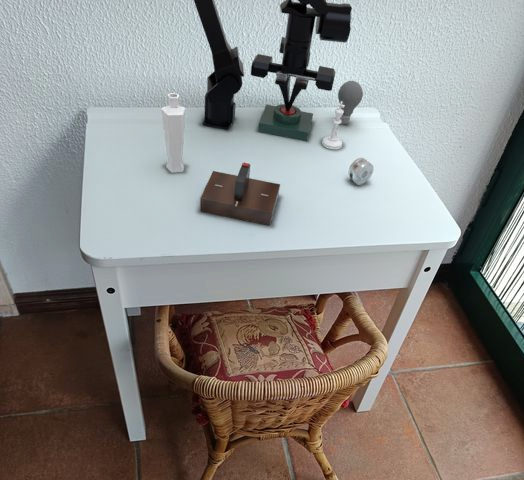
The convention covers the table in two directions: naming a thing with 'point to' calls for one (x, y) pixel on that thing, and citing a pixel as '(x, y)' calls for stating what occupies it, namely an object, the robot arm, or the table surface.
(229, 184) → the panel
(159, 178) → the table surface
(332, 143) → the chess piece
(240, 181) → the knob
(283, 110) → the button
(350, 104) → the light bulb
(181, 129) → the perfume bottle
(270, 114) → the button box
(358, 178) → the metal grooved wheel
